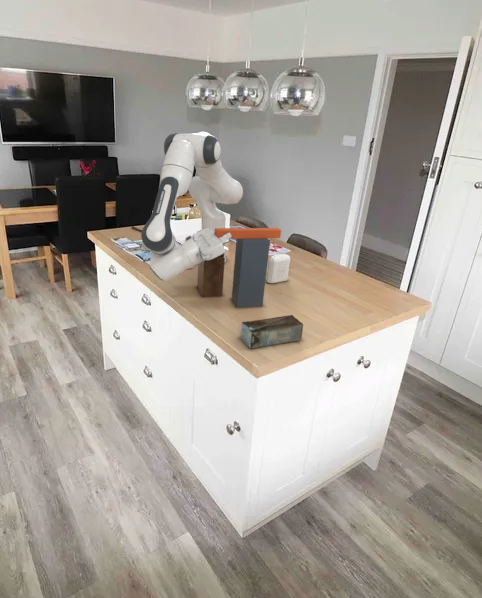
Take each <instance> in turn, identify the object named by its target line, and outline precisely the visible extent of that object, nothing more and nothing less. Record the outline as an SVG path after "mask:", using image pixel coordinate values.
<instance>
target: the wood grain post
mask: <svg viewBox="0 0 482 598" xmlns="http://www.w3.org/2000/svg"><path fill="white" fill-rule="evenodd" d="M225 257H226V256H225ZM225 257H224V253H223V254H222V255H220V256H218V257H216V258H214V259H211V260H204V261H203V262H201V263H199V264H197V286H196V287H197V290H198V292H199V293H200V296H201V297H202V298H211V297H212V298H213V297H222V296H223V290H224V273H225V263H226V262H225Z"/></svg>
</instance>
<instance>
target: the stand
mask: <svg viewBox="0 0 482 598" xmlns="http://www.w3.org/2000/svg"><path fill="white" fill-rule="evenodd" d="M235 241H236V242H235V254H234V264H233V278H232V292H231V301H232V302H233V303H234V305H235V307H236V308H237V309H241V308H259V307H263V305H264V297H265V289H266V288H265V287H266V281H267V280H266V279H267V270H268V262H269V253H270V244H271V240H270V238H250V239H235Z"/></svg>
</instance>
